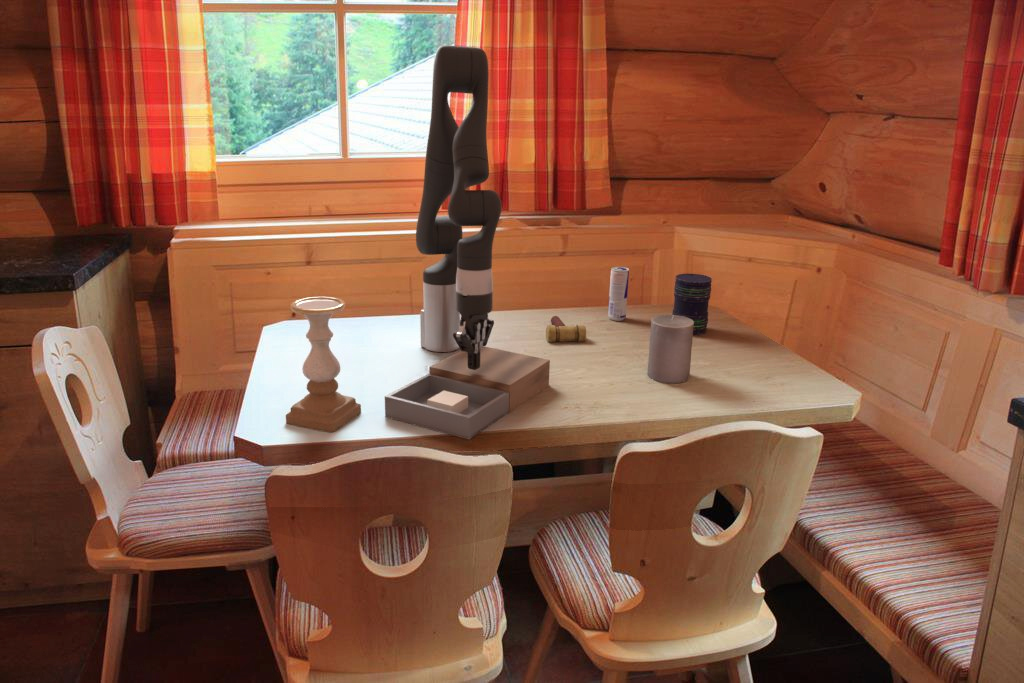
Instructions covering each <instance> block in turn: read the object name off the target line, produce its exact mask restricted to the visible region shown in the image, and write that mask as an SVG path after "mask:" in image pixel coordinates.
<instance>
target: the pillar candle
mask: <svg viewBox="0 0 1024 683" xmlns="http://www.w3.org/2000/svg"><path fill="white" fill-rule="evenodd" d="M650 322H651V323H650V335H649V348H648V360H647V361H648V362H647V373H646V374H647V377H648V378H649V379H650V380H652V379H653V380H652V381H656V382H657V381H658V382H659V383H661V382H662V384H682V383H685V382H687V381H688V380H689V378H690V375H691V374H690V373H691V363H692V362H691V361H692V350H693V337H694V336H693V326H694V322H693V320H691V319H690V318H687V317H684V316H678V315H672V314H659V315H656V316H653V317H652V318H651V321H650ZM681 382H682V383H681Z"/></svg>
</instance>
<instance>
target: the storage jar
mask: <svg viewBox="0 0 1024 683" xmlns="http://www.w3.org/2000/svg"><path fill="white" fill-rule="evenodd" d="M712 281H713V279H712V277H710V276H708V275H704V274H699V273H679V274H677V275H675V281H674V282H675V283H674V288H673V290H674V291H673V297H674V302H673V309H672V314H671V315H678V316H684V317H687V318H690V319H691V320H693V322H694V326H693V337H694V336H695V337H696V336H697V337H698V336H702V335H705V334H706V333H707V328H708V323H709V303H710V299H711V292H712Z"/></svg>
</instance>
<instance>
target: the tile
mask: <svg viewBox="0 0 1024 683" xmlns="http://www.w3.org/2000/svg"><path fill="white" fill-rule="evenodd" d="M427 405H428V406H432V407H436V408H440V409H444V410H448V411H452V412H456V413H460V412H462V411H463V410H465V409H467V408H468V396H465V395H461V394H456V393H452V392H448V391H442V392H440V393H439V394H437V395H435V396H433V397H431V398H430V399H428V400H427Z"/></svg>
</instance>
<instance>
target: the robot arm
mask: <svg viewBox="0 0 1024 683" xmlns="http://www.w3.org/2000/svg"><path fill="white" fill-rule="evenodd" d="M436 49H437V50H436V52H435V55H434V59H433V60H434V61H433V72H432V73H433V74H432V90H431V110H430V112H431V114H430V124H429V131H428V137H427V144H426V152H425V162H424V177H423V187H422V188H423V189H422V196H421V201H420V206H419V212H418V217H417V223H416V231H415V242H416V243H415V244H416V248H417V251H418V252H419V253H420V254H422V255H426V256H427V255H428V256H432V255H433V256H434V255H436V256H437V255H444V256H443V257H442V258H441V259H440V260H439V261H438V262H436V263H434V264H432V265H430V266H428V267H426V268H425V269H424V270H423V273H422V281H423V282H422V284H423V286H422V288H423V289H422V293H423V308H422V309H421V310H420V311H419V319H420V320H419V321H420V324H419V325H420V328H419V329H420V347H421V348H424V349H425V350H428V351H430V352H434V353H448V352H453V351H454V352H455V351H456V350H457V351H458V350H459V349H460V351H465V352H467V353H468V368H469V369H472V370H476V369H478V368H480V351H482V347H483V346H484V347H487V344H488V343H489V342H488V341H489V338H490V336H491V334H492V329H493V327H494V324H495V320H493V319H489V313H491V312H492V311H493V302H494V301H493V299H494V298H493V296H494V294H493V292H494V291H493V290H494V286H493V284H494V282H493V281H494V276H493V270H492V268H493V264H492V263H493V246H494V245H493V244H494V238H495V235H496V231H497V227H498V224H499V221H500V219H501V215H502V209H503V208H502V207H503V206H502V205H503V204H502V200H501V197H500V195H499V193H498V192H496V191H495V190H492V189H469V190H468V188H470V187H474V186H477V185H481V184H483V183H485V182H486V181H487V180H488V179H489V175H490V166H489V154H488V143H487V124H488V123H487V122H488V111H489V109H488V105H489V78H490V77H489V60H488V57H487V54H486V52H485V50H484V49H483V48H481V47H475V46H460V45H452V44H451V45H450V44H449V45H448V44H445V45H440V46H439V47H438V48H436ZM449 93H457V94H470V95H471V94H472V101H471V103H470V104H471V105H470V108H469V109H468V111H467V113H466V115H465V117H464V119H463V120H462V122H460V123H461V124H460V125H458V123H457V121H456V120H455V117H454V115H453V113H452V110H451V108H450V104H449V100H448V97H449ZM449 196H450V198H449ZM448 198H449V201H448V206H447V214H448V215H439V216H438V212H439V211H440V209H441V207H442V205H443V203H444V202H445V201H446V200H447V199H448ZM463 227H481V229H480V230H479V231H478V233H477V234H476V233H475V234H473V235H469V236H466V237H463Z"/></svg>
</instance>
